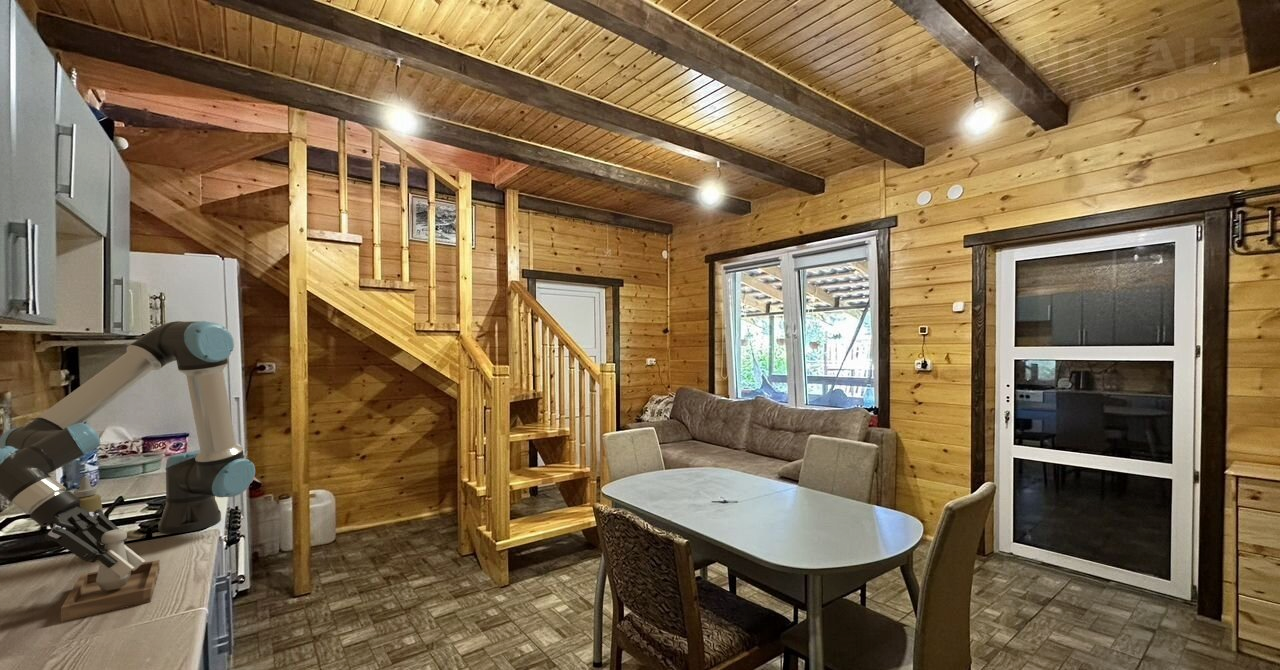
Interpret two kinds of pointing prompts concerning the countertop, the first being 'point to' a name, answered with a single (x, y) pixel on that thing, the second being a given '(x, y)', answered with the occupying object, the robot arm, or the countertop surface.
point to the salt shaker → (106, 575)
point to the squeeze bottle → (88, 496)
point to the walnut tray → (110, 593)
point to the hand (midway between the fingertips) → (133, 569)
